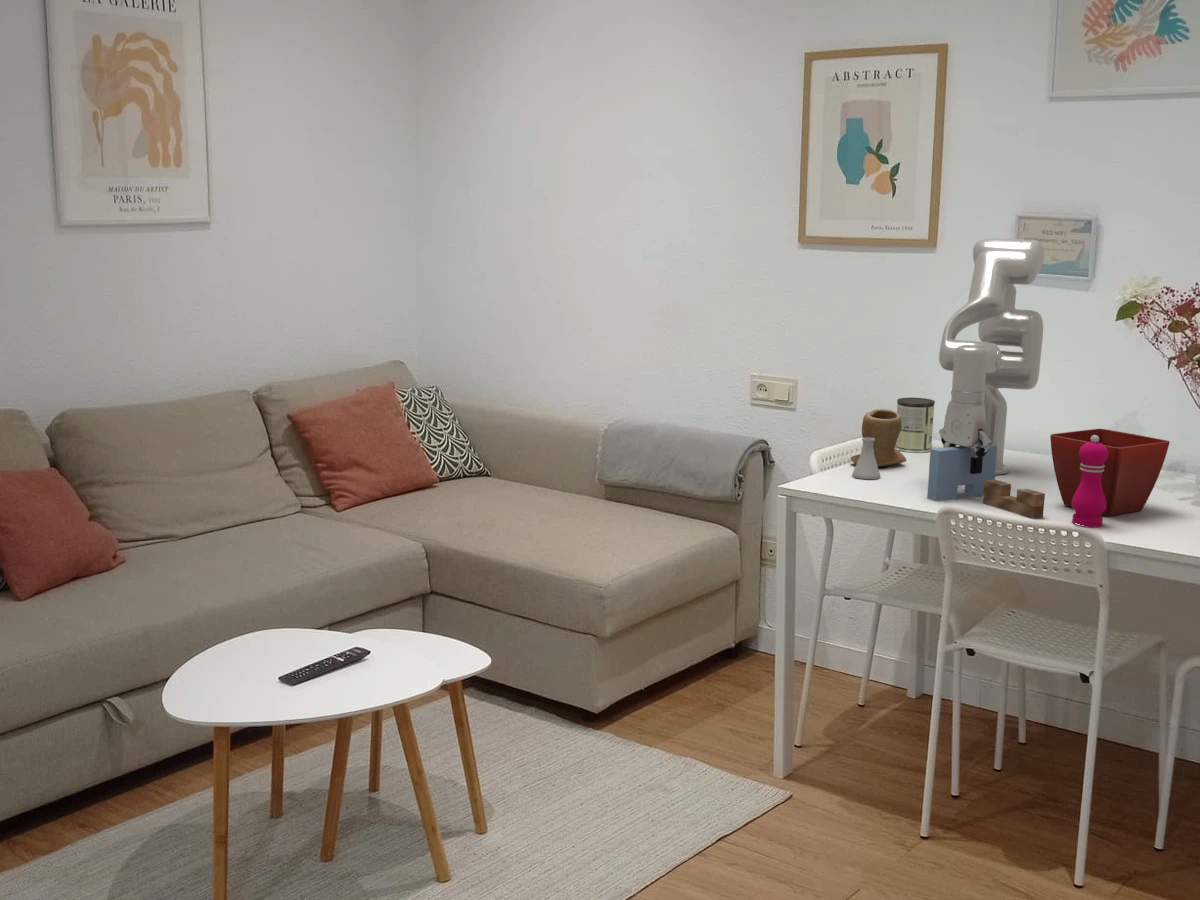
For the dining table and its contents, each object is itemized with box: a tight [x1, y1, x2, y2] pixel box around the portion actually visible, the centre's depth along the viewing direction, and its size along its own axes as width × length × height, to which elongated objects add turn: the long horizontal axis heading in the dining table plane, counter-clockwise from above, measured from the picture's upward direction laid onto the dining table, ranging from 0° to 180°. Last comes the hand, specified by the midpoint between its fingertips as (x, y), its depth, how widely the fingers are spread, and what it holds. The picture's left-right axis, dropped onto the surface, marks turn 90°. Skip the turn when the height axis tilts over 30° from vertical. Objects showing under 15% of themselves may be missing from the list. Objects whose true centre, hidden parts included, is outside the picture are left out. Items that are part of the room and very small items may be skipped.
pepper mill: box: [1071, 435, 1108, 528], centre depth 288 cm, size 7×7×20 cm
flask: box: [851, 437, 882, 480], centre depth 333 cm, size 7×7×10 cm
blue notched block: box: [926, 444, 997, 502], centre depth 313 cm, size 18×3×12 cm, turn 117°
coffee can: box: [895, 397, 936, 454], centre depth 369 cm, size 10×10×14 cm
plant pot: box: [1049, 428, 1170, 517], centre depth 303 cm, size 19×19×17 cm
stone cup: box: [850, 408, 907, 468], centre depth 347 cm, size 15×12×15 cm
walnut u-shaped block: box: [982, 478, 1046, 519], centre depth 301 cm, size 16×3×6 cm, turn 27°
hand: (962, 469), depth 313 cm, fingers open, 8 cm apart
